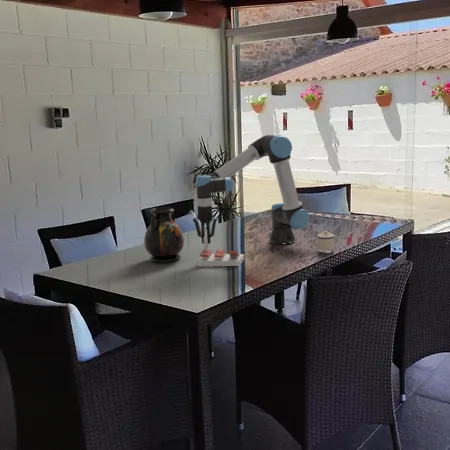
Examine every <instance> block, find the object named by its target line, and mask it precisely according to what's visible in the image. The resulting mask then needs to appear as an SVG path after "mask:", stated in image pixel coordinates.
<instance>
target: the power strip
mask: <svg viewBox="0 0 450 450" xmlns="http://www.w3.org/2000/svg"><path fill="white" fill-rule="evenodd" d="M214 255H215V253H211V254H210V257H209V258H202V257H200V256H199V258H197V260H196V264H197V265H196V266H197V267H213V266H223V267H224V266H239V265H240V264H241V263H243V262H244V261H245V253H243V254H242V253H239V257H237V258H230V255H229V253H225V254H224V257H223V258H214ZM243 260H244V261H243ZM242 261H243V262H242ZM241 265H242V264H241ZM241 265H240V266H241ZM240 266H239V267H240ZM223 267H222V268H223Z"/></svg>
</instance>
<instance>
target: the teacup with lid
mask: <svg viewBox="0 0 450 450" xmlns="http://www.w3.org/2000/svg"><path fill="white" fill-rule="evenodd" d="M316 240H317V243H316ZM312 243H313V245H314V247H317V250H318V249H321V250H331V249H334V250H335V235H334V233H333V234H332V233H330V232H329V231H328V230H324V231H323V232H321V233H319V234H318V235H317V237H315V238H313V240H312Z"/></svg>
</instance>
